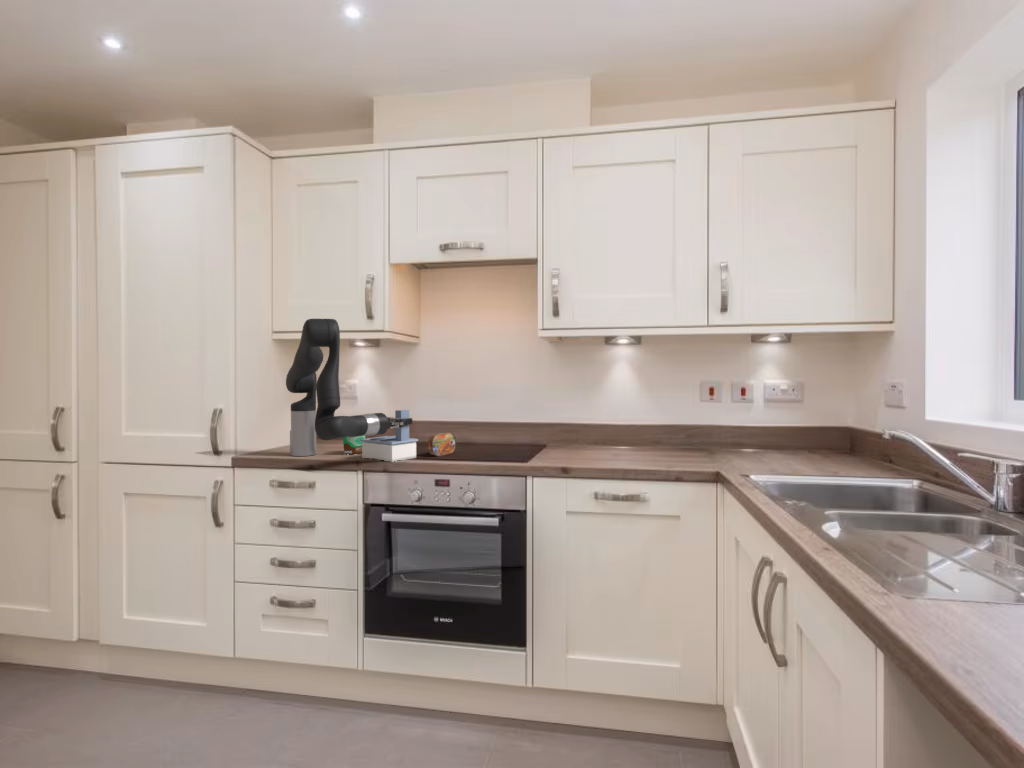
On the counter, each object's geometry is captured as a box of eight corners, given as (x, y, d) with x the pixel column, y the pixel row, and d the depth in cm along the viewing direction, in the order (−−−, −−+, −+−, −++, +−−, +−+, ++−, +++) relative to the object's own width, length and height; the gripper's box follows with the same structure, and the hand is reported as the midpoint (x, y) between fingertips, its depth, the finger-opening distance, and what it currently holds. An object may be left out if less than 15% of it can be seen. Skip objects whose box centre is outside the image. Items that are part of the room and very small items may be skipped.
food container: (355, 456, 212) (355, 430, 212) (341, 455, 214) (341, 429, 214) (373, 452, 223) (373, 427, 223) (360, 451, 225) (360, 426, 225)
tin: (432, 457, 209) (432, 435, 208) (426, 456, 210) (426, 434, 210) (457, 452, 221) (456, 431, 221) (450, 452, 223) (450, 431, 223)
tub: (362, 458, 207) (362, 442, 206) (386, 454, 216) (386, 439, 216) (392, 462, 197) (391, 445, 197) (416, 457, 207) (416, 441, 207)
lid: (360, 441, 206) (360, 409, 206) (386, 438, 217) (386, 407, 217) (391, 444, 196) (391, 411, 196) (418, 440, 207) (417, 409, 207)
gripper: (385, 414, 187) (421, 411, 201) (358, 412, 195) (394, 410, 209) (385, 436, 187) (422, 432, 201) (358, 434, 195) (395, 429, 209)
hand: (408, 420), depth 205 cm, fingers closed on lid, 3 cm apart
